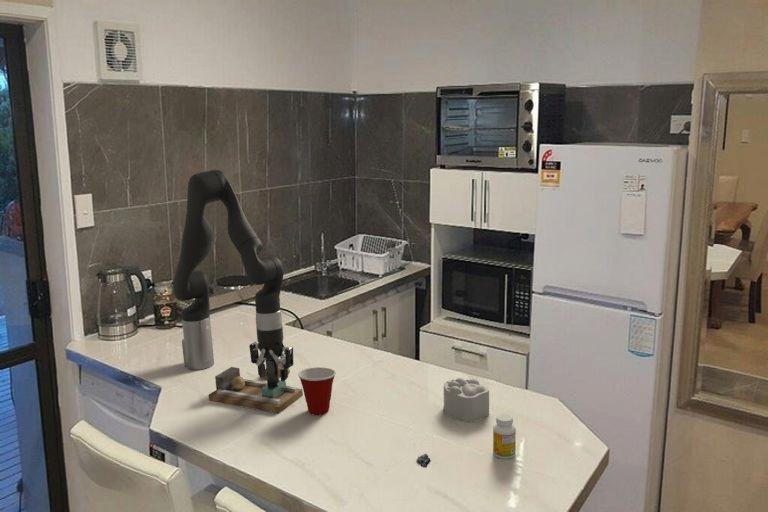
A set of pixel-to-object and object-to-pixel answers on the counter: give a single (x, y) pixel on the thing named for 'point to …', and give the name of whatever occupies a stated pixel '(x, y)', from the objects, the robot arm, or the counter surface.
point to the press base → (251, 393)
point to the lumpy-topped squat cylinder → (466, 400)
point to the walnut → (238, 383)
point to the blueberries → (424, 460)
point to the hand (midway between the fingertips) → (273, 378)
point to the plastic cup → (317, 388)
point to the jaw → (273, 381)
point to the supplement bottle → (504, 437)
